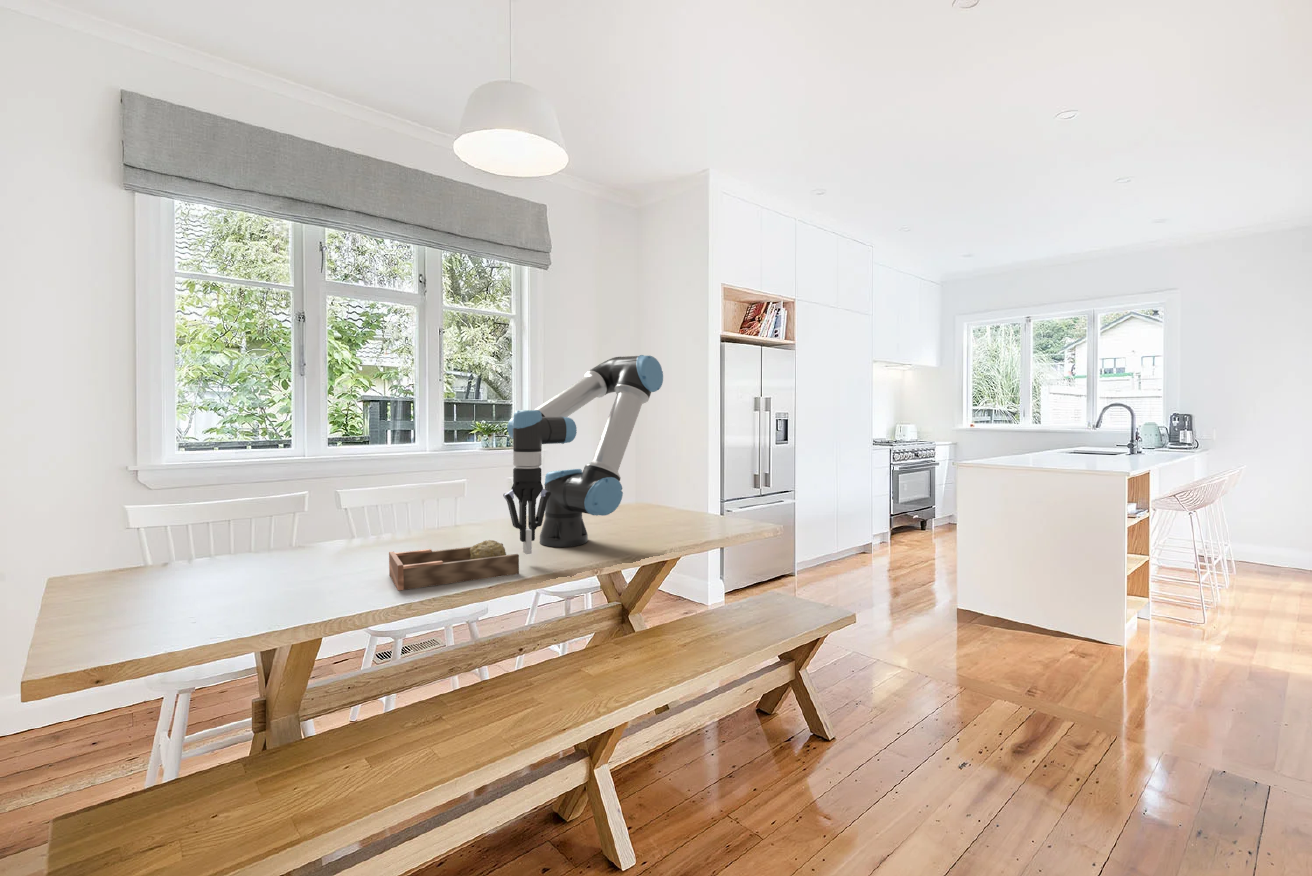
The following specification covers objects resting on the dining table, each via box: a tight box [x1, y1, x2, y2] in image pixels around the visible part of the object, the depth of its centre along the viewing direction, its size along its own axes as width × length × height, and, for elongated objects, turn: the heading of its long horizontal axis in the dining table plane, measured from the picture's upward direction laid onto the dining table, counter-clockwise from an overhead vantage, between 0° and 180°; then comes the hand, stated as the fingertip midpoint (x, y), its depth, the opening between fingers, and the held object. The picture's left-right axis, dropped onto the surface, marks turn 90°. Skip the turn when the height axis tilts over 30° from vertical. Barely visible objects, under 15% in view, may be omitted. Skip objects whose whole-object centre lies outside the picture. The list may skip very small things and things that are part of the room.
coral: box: [470, 539, 507, 559], centre depth 164 cm, size 9×9×8 cm
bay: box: [388, 542, 520, 592], centre depth 160 cm, size 29×15×6 cm, turn 121°
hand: (527, 552), depth 170 cm, fingers closed
